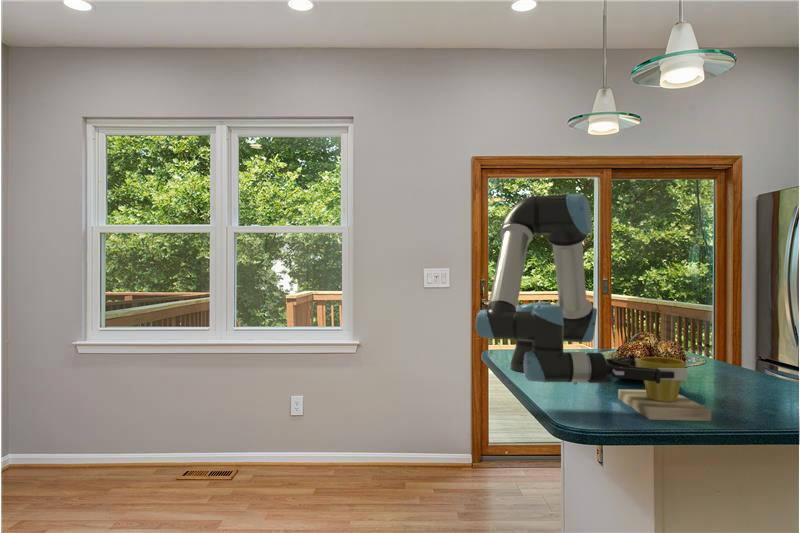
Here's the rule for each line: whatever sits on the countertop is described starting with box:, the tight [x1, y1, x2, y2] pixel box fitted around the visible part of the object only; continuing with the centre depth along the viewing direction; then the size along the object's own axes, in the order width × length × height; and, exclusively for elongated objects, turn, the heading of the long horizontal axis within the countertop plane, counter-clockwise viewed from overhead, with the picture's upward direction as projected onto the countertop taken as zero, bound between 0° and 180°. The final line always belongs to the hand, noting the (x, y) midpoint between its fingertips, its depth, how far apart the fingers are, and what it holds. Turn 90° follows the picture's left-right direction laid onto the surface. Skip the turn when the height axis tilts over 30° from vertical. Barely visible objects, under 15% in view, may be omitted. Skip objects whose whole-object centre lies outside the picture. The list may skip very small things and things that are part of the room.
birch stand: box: [617, 388, 712, 422], centre depth 133 cm, size 20×14×2 cm
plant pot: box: [638, 356, 686, 402], centre depth 133 cm, size 10×10×10 cm
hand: (673, 369), depth 133 cm, fingers open, 13 cm apart
